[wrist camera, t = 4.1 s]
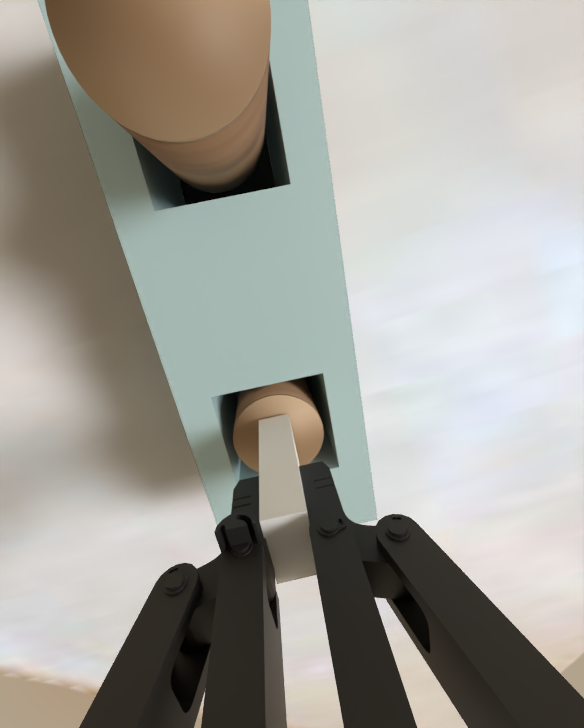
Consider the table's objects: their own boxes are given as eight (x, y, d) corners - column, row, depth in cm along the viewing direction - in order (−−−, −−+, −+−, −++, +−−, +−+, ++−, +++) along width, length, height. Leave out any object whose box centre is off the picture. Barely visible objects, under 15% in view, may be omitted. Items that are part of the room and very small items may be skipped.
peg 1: (139, 79, 14) (-1, -123, 6) (250, 58, 14) (243, -164, 6) (174, 201, 15) (94, 157, 8) (274, 182, 15) (289, 120, 8)
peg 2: (233, 356, 24) (222, 406, 16) (297, 343, 24) (315, 386, 16) (248, 413, 25) (245, 483, 18) (308, 400, 26) (329, 464, 18)
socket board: (105, 32, 18) (-6, -125, 10) (273, 1, 18) (284, -174, 11) (235, 469, 27) (226, 553, 20) (344, 444, 27) (377, 519, 20)
